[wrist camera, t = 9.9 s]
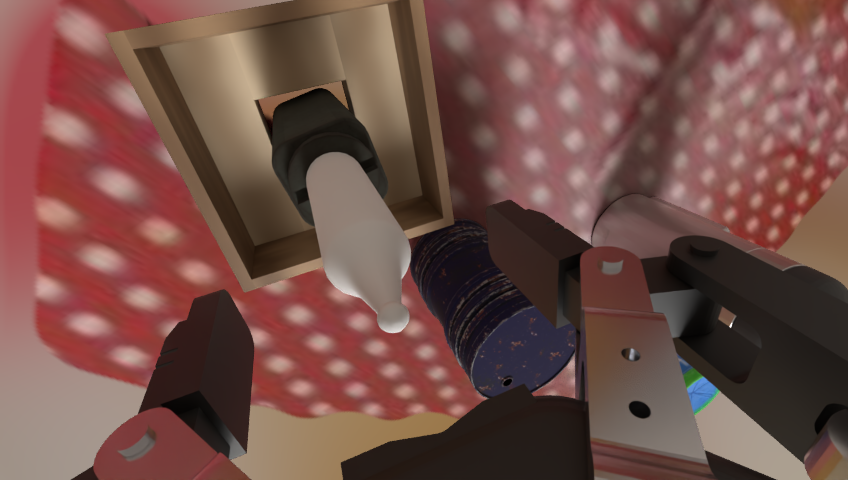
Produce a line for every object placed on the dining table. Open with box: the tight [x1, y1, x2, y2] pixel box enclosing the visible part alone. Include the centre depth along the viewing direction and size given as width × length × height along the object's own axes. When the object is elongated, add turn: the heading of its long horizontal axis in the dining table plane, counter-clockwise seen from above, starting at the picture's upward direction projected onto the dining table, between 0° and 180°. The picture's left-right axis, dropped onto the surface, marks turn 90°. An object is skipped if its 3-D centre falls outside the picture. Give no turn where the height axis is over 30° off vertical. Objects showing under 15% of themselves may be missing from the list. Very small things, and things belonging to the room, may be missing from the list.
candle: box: [272, 88, 411, 333], centre depth 20 cm, size 5×5×25 cm
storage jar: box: [410, 219, 575, 399], centre depth 35 cm, size 10×10×15 cm
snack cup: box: [677, 354, 719, 415], centre depth 59 cm, size 16×11×10 cm
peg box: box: [105, 0, 454, 293], centre depth 27 cm, size 16×16×8 cm
